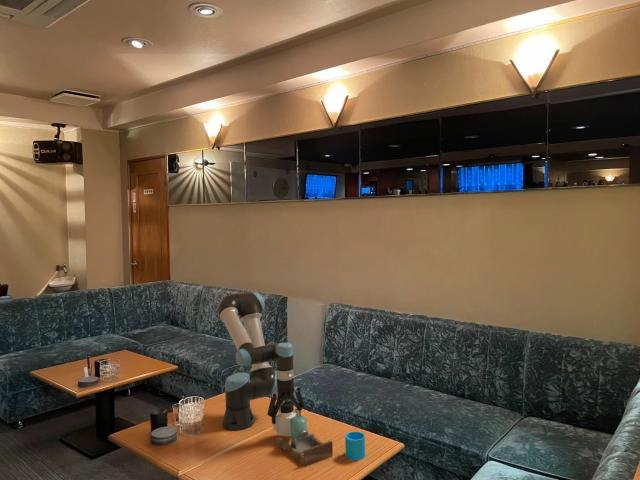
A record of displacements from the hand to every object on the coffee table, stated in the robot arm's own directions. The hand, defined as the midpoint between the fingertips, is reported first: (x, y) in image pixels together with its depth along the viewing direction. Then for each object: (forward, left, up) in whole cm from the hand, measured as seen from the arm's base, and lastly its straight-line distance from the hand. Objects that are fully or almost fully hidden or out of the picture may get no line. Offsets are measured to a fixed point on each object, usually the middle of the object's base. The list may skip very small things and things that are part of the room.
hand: (286, 427), depth 206 cm
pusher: (+15, 0, -5) cm, 15 cm away
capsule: (+10, 0, -5) cm, 11 cm away
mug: (+29, +16, -5) cm, 34 cm away
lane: (+13, 0, -5) cm, 14 cm away
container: (0, 0, -2) cm, 2 cm away
